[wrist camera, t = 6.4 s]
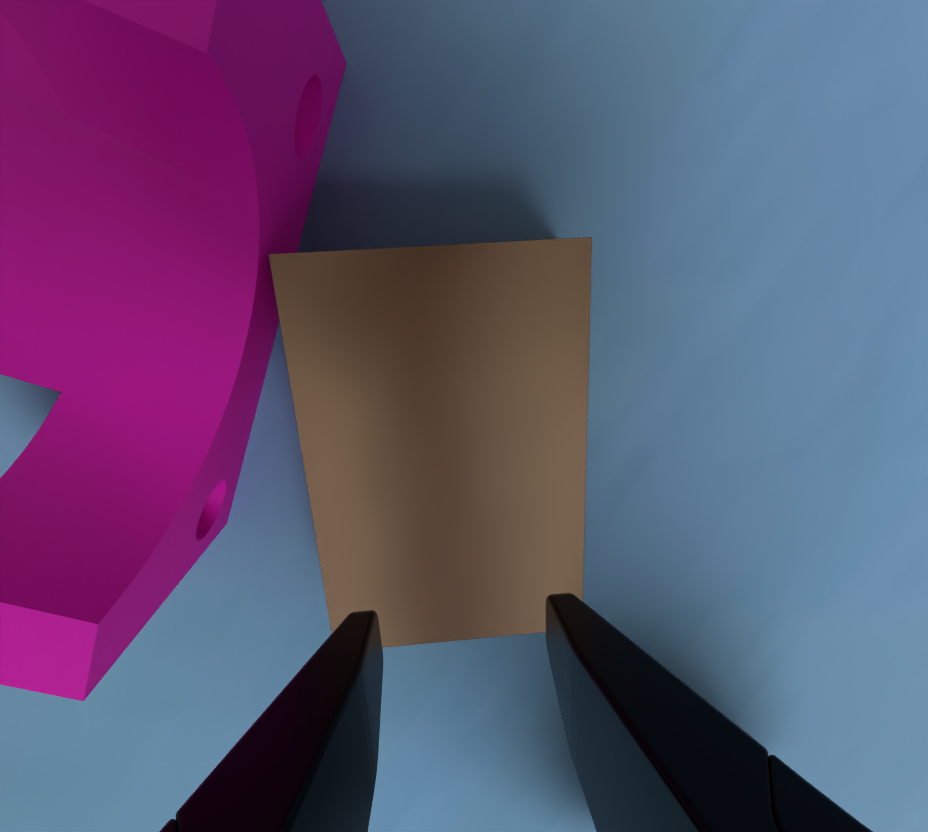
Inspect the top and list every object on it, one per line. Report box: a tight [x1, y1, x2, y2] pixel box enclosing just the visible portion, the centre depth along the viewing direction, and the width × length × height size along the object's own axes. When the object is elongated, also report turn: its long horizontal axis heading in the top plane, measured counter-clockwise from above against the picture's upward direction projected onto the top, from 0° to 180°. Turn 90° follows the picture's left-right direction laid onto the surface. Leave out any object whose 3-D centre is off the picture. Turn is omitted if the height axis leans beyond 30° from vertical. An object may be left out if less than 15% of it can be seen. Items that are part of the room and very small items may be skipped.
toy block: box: [0, 0, 346, 701], centre depth 11 cm, size 15×6×8 cm, turn 160°
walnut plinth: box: [269, 237, 592, 647], centre depth 15 cm, size 8×12×3 cm, turn 3°
